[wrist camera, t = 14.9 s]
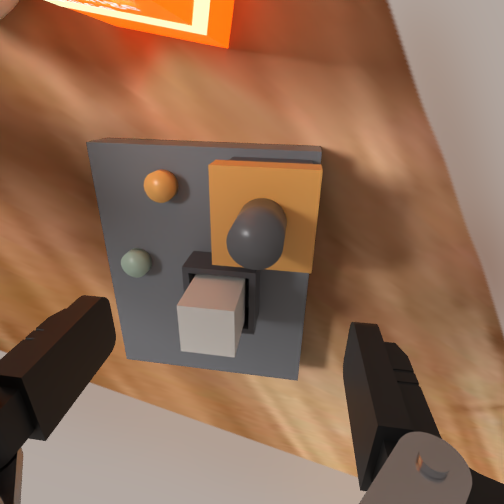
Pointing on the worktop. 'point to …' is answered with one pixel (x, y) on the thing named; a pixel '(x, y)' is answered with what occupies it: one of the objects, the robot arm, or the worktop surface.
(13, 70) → the worktop surface
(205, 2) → the orange juice
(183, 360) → the breaker panel
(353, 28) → the worktop surface
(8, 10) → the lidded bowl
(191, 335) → the breaker plain
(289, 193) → the cap
